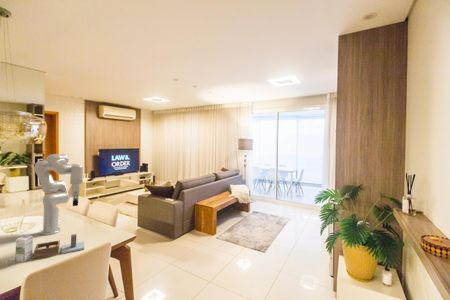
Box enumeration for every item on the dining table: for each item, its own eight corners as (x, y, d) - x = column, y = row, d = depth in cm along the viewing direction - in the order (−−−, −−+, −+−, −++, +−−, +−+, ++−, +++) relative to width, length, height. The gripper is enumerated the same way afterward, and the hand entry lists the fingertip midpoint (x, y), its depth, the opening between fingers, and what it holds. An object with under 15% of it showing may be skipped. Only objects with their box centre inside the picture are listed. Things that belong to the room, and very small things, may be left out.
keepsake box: (36, 253, 139) (36, 244, 139) (59, 248, 146) (59, 240, 146) (33, 260, 131) (34, 250, 131) (58, 255, 138) (58, 246, 138)
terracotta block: (48, 251, 141) (49, 245, 141) (56, 250, 143) (56, 244, 143) (48, 254, 138) (48, 248, 137) (56, 252, 140) (56, 247, 140)
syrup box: (32, 257, 134) (33, 235, 134) (24, 262, 128) (25, 239, 128) (23, 257, 134) (24, 234, 134) (14, 262, 128) (15, 238, 128)
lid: (62, 248, 148) (63, 234, 147) (83, 244, 155) (84, 230, 155) (61, 255, 139) (62, 239, 139) (84, 250, 146) (84, 236, 146)
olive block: (37, 254, 137) (37, 248, 137) (45, 252, 140) (45, 246, 140) (38, 256, 134) (38, 250, 134) (46, 254, 137) (46, 248, 137)
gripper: (70, 179, 163) (69, 201, 163) (69, 183, 148) (68, 207, 149) (82, 179, 167) (81, 200, 167) (82, 183, 153) (81, 206, 153)
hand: (75, 204), depth 158 cm, fingers open, 9 cm apart
